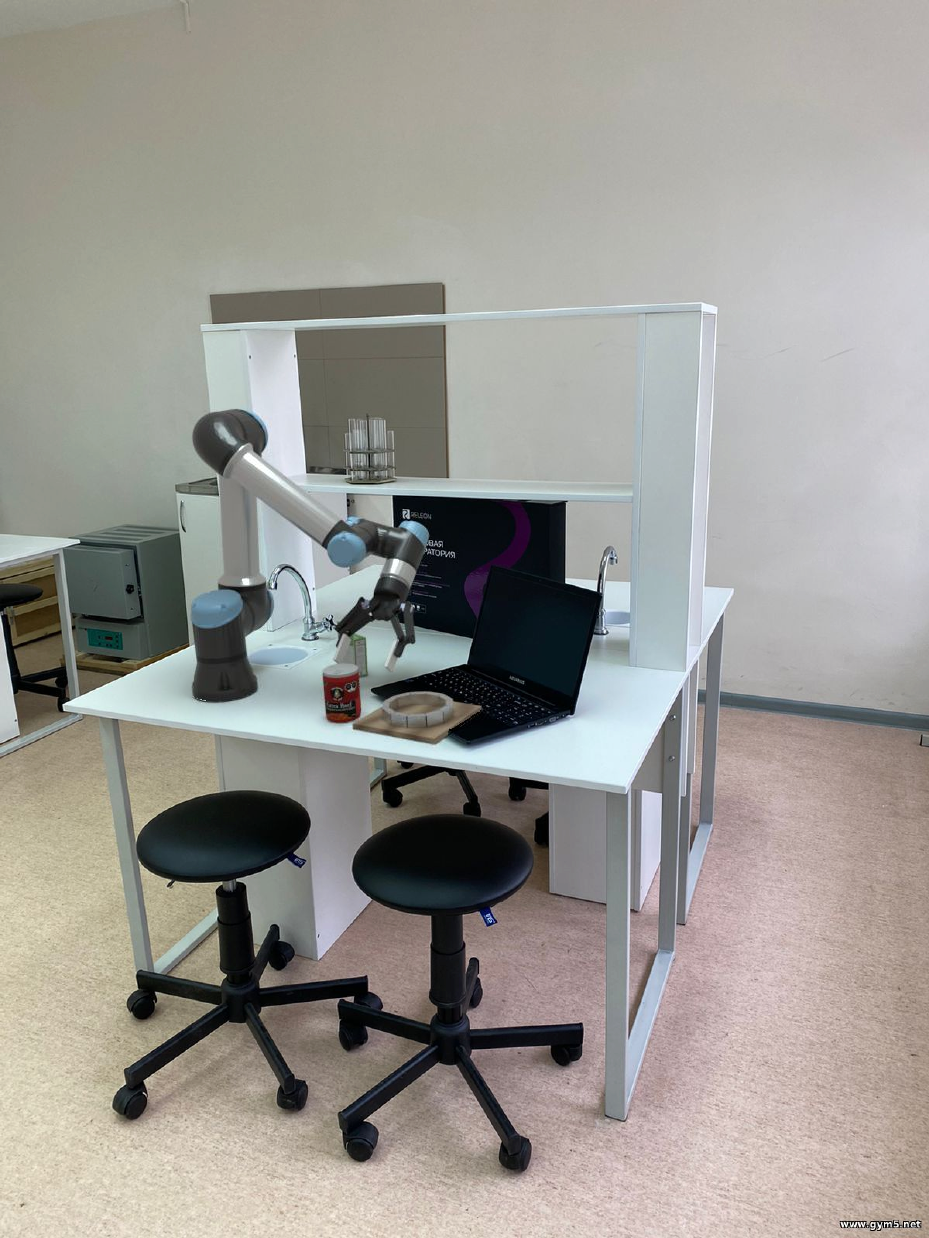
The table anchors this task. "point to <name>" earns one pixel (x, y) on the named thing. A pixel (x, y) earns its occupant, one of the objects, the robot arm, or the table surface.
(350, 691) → the canned food
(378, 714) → the board
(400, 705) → the collar
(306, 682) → the table surface
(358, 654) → the ink box
